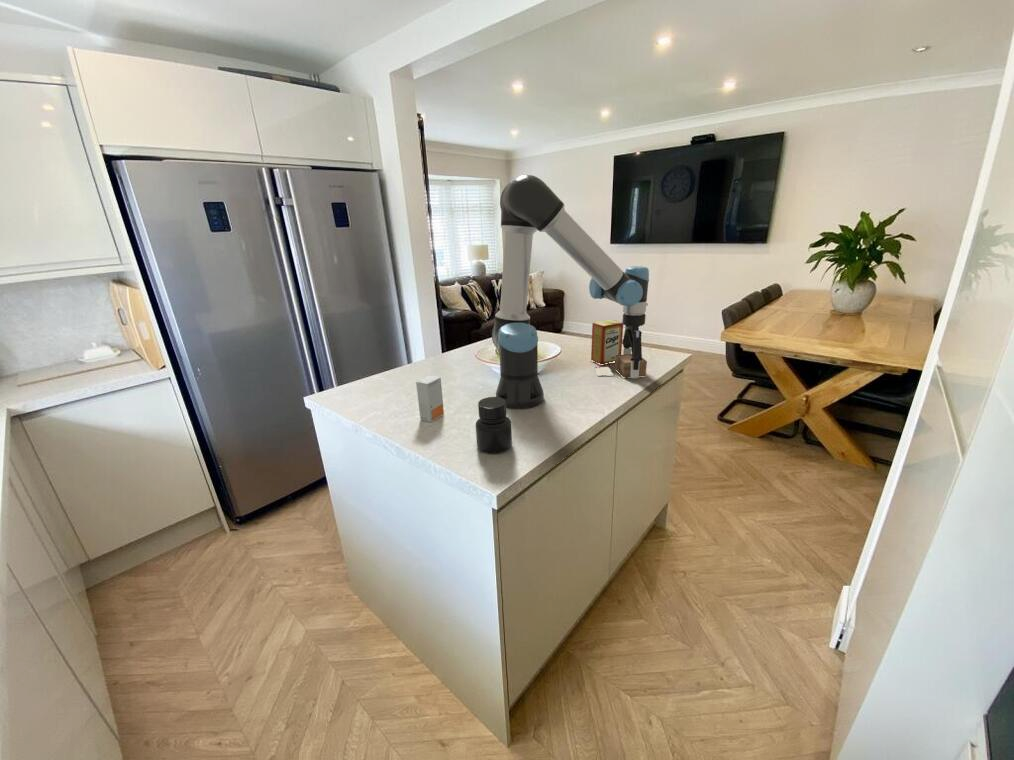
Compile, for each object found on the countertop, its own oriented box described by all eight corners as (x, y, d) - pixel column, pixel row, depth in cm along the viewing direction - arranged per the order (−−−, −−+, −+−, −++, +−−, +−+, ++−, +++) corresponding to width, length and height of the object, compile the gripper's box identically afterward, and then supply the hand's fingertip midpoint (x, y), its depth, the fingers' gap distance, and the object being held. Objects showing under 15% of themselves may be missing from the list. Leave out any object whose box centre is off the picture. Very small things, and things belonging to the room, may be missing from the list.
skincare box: (431, 423, 113) (426, 384, 109) (420, 420, 116) (415, 381, 111) (445, 414, 118) (441, 377, 114) (434, 412, 120) (429, 374, 116)
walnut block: (645, 377, 141) (646, 361, 139) (623, 378, 140) (624, 362, 138) (635, 369, 149) (636, 353, 147) (614, 370, 149) (615, 355, 147)
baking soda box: (601, 365, 154) (603, 325, 148) (591, 361, 159) (592, 321, 154) (620, 361, 157) (623, 321, 152) (610, 357, 163) (612, 318, 157)
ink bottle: (514, 437, 104) (513, 394, 100) (513, 455, 96) (511, 409, 92) (477, 437, 105) (474, 395, 100) (473, 455, 97) (469, 410, 92)
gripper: (655, 320, 125) (649, 383, 133) (637, 306, 148) (633, 360, 156) (630, 321, 126) (626, 383, 133) (616, 306, 149) (613, 360, 157)
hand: (630, 371), depth 145 cm, fingers open, 13 cm apart
